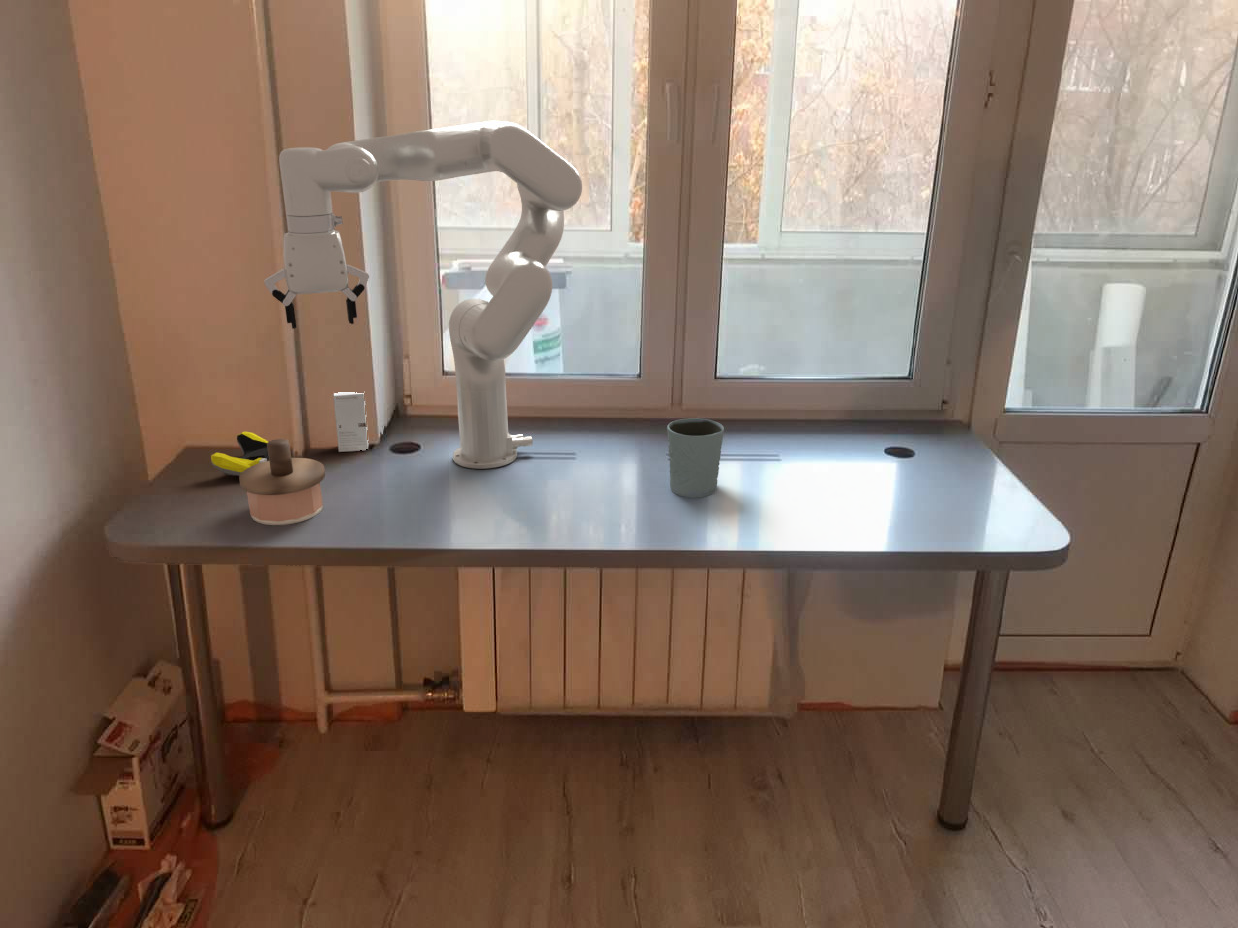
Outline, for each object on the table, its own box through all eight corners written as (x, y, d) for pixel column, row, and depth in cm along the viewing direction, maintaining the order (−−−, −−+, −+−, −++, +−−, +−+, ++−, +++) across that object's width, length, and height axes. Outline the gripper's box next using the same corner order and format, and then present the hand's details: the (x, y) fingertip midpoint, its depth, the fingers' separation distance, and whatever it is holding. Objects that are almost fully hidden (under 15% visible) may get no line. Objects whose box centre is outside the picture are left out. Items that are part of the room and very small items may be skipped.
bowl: (320, 493, 177) (316, 462, 174) (325, 519, 166) (320, 487, 164) (251, 502, 173) (246, 471, 171) (251, 529, 162) (245, 496, 160)
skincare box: (338, 452, 196) (331, 395, 191) (339, 445, 200) (332, 389, 195) (369, 450, 197) (363, 393, 192) (370, 442, 201) (364, 387, 197)
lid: (322, 459, 176) (318, 425, 173) (328, 488, 163) (323, 451, 161) (240, 469, 171) (234, 434, 169) (239, 499, 159) (233, 462, 157)
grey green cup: (659, 494, 175) (660, 432, 171) (675, 474, 184) (676, 414, 180) (713, 502, 172) (715, 438, 168) (727, 481, 181) (730, 420, 177)
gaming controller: (209, 483, 181) (261, 484, 181) (204, 456, 179) (257, 457, 179) (244, 454, 195) (292, 455, 195) (240, 429, 193) (288, 430, 193)
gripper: (361, 219, 169) (371, 316, 175) (256, 224, 164) (270, 324, 170) (365, 225, 162) (375, 325, 169) (256, 230, 157) (271, 333, 163)
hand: (322, 324), depth 169 cm, fingers open, 9 cm apart
